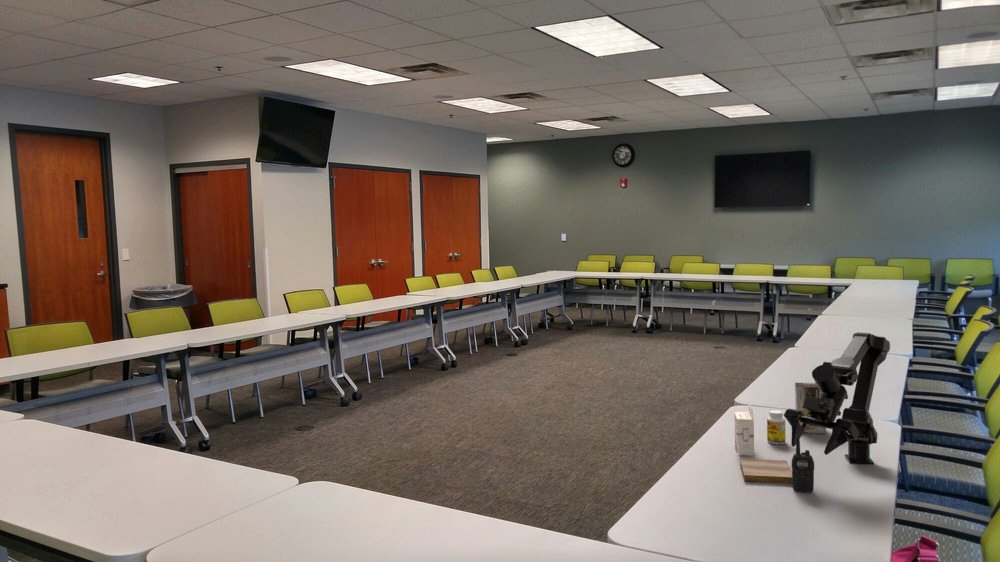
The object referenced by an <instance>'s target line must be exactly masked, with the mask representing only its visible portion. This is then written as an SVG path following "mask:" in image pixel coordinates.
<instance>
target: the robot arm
mask: <svg viewBox="0 0 1000 562" xmlns="http://www.w3.org/2000/svg"><path fill="white" fill-rule="evenodd" d="M890 348H891V342H890V341H889V340H888V339H887V338H886V337H884V336H877V335H875V334H873V333H870V332H854V333H853V335H852V338H851V341H850V342H849V344H848V345H847V347H846V348H845V350H844V351H843V353H842V354H841V356H840V357H838V358H835V359H833V360H831V362H830V361H829V362H828V361H823V362H822V364H820V365H818V366H816V367H815V368H814V369H812V371H811V377H812V379H813V380H814V383H816V384H817V386H818V388H819V390H820V391H822V394H821V396H820V398H811V397H805V399H804V403H803V407H802V408H805V409H807V410H808V414H809V415H811V417H806V416H804V415H803V413H802V412H801V411H800V410H796V408H787V409H786V410H785V411H784V414H783V416H784V418H785V420H786V421H787V422H788V424H789V425H790V426H791V446H792V447H793V448H795V447H796V437H797V436H799V437H800V439H801V437H802V436H803V434H804V433H805V432H804V431H805V430H804V429H803V428H805V427H806V425H807V424H810V425H814V426H819V427H824V428H826V429H830V430H832V432H831V435H830V437H829V440H828V442H827V443H826V446H825V448H824V452H823V454H824V455H825V456H827V455H829V454H830V453H832V452H833V451H834V450H836V449H837V448H839V447H840V446H842V445H844V444H845V443H847V453H846V454H844V457H845V458H846V459H847V461H848V462H849V463H850V464H870V465H871V464H873V465H874V463H875V462H874V460H873V459H872V458H871V454H870V453H871V448H870V447H871V445H872V444H877V443H878V431H877V429H876V428H875V426H874V420H873V417H872V415H871V413H870V407H871V402H872V397H873V394H874V393H873V392H874V387H875V382H876V378H877V374H878V373H877V372H878V367H879V366H880V365H881V364H882V363H884V361H886V359H887V357H888V356H887V355H888V353H889V352H890ZM858 366H859V367H858ZM857 368H859V369H858V371H857ZM855 383H856V384H855ZM854 384H855V387H854V393H853V397H852V401H851V405H850V406H849V407H845V408H844V409H843V410H842V412H841V408H842V405H843V403H844V401H845V400H848V399H849V395H848V391H847V389H846V387H845V386H850V387H851V386H853V385H854ZM841 415H842V416H841ZM840 416H841V418H839V417H840ZM837 417H838V418H837Z"/></svg>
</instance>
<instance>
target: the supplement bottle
mask: <svg viewBox="0 0 1000 562" xmlns="http://www.w3.org/2000/svg"><path fill="white" fill-rule="evenodd" d="M783 416H784V414H783V411H781V410H770V411H769V416H768V417H767V418H766V429H767V430H766V432H767V433H766V437H767V443H770V444H773V445H783V444H785V443H786V440H787V439H786V438H787V437H786V418H785V417H783Z"/></svg>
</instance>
